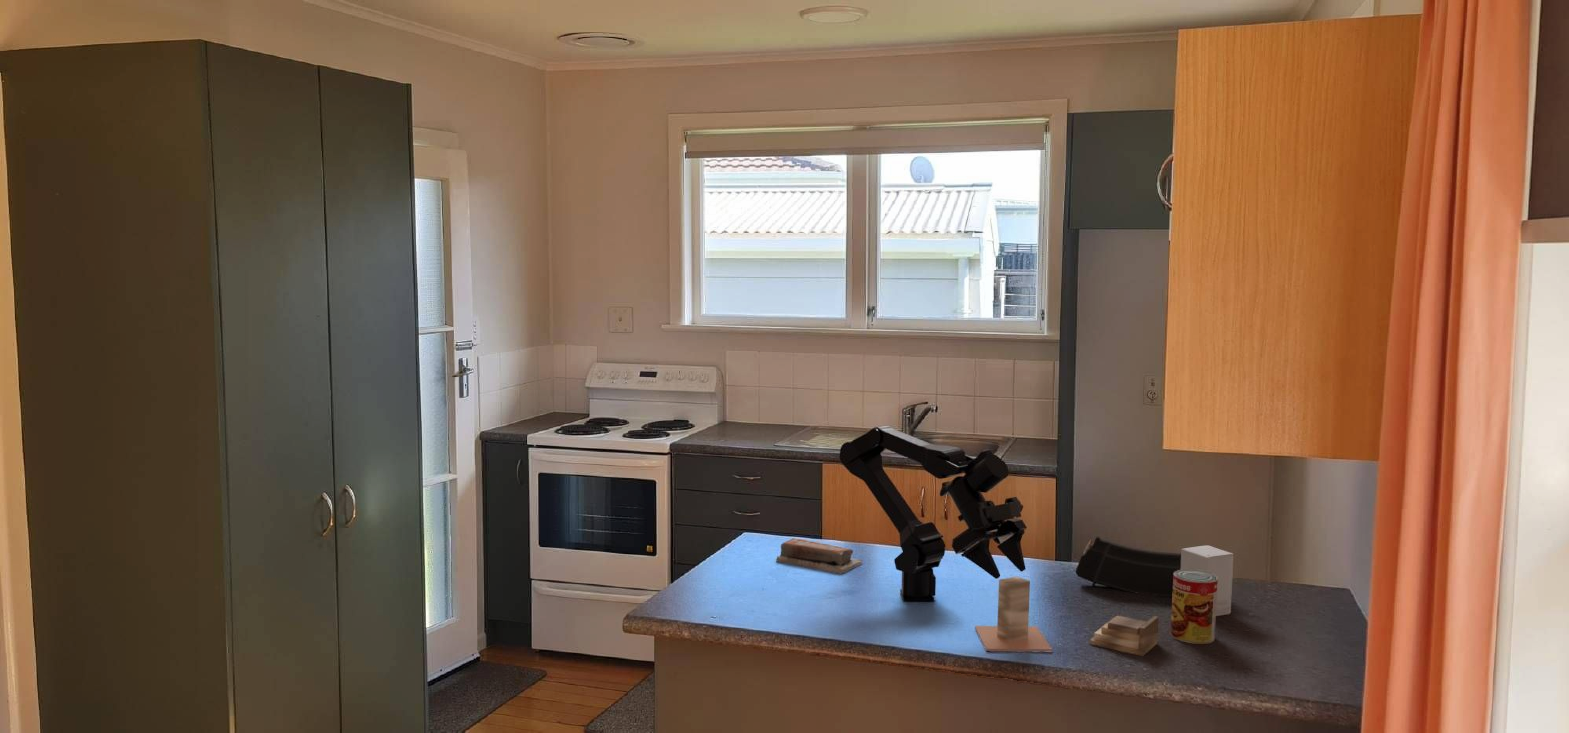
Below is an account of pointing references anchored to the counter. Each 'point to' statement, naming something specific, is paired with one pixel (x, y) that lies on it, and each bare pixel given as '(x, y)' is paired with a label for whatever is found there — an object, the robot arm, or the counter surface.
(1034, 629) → the tile
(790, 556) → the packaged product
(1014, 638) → the tall wooden block
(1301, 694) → the counter surface
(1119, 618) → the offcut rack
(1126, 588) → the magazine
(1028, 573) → the counter surface
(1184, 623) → the canned food
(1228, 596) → the supplement box
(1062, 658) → the counter surface
